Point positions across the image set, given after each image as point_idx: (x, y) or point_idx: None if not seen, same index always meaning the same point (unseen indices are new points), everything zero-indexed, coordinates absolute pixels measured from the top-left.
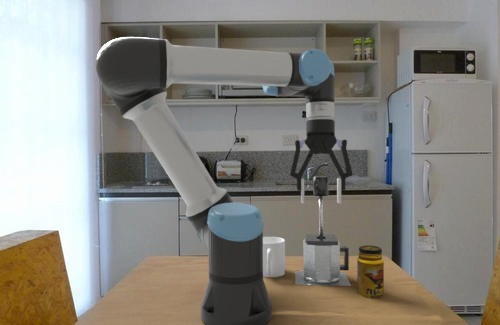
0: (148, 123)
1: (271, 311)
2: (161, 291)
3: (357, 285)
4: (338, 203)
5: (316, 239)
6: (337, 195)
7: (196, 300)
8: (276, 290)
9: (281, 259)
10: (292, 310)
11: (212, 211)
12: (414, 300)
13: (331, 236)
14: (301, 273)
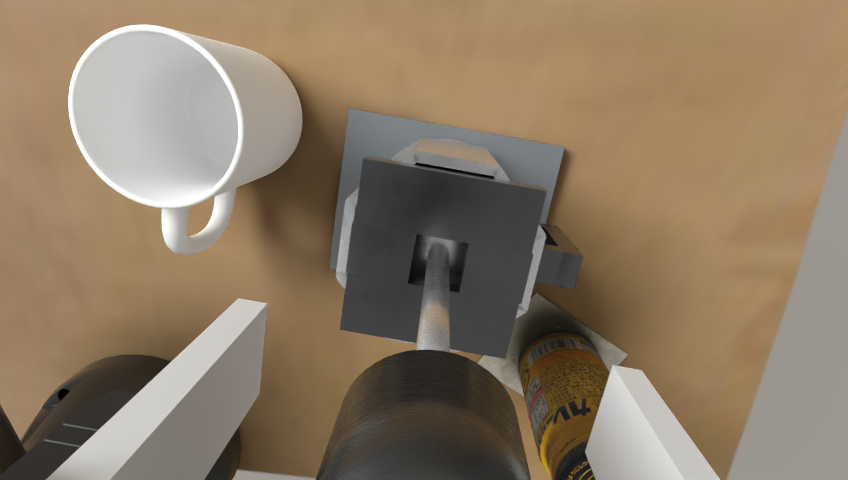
0: None
1: (235, 462)
2: None
3: (526, 371)
4: (585, 450)
5: (400, 301)
6: (630, 442)
7: (16, 333)
8: (261, 282)
9: (258, 173)
10: (299, 426)
11: None
12: (680, 405)
13: (510, 240)
14: (371, 145)
